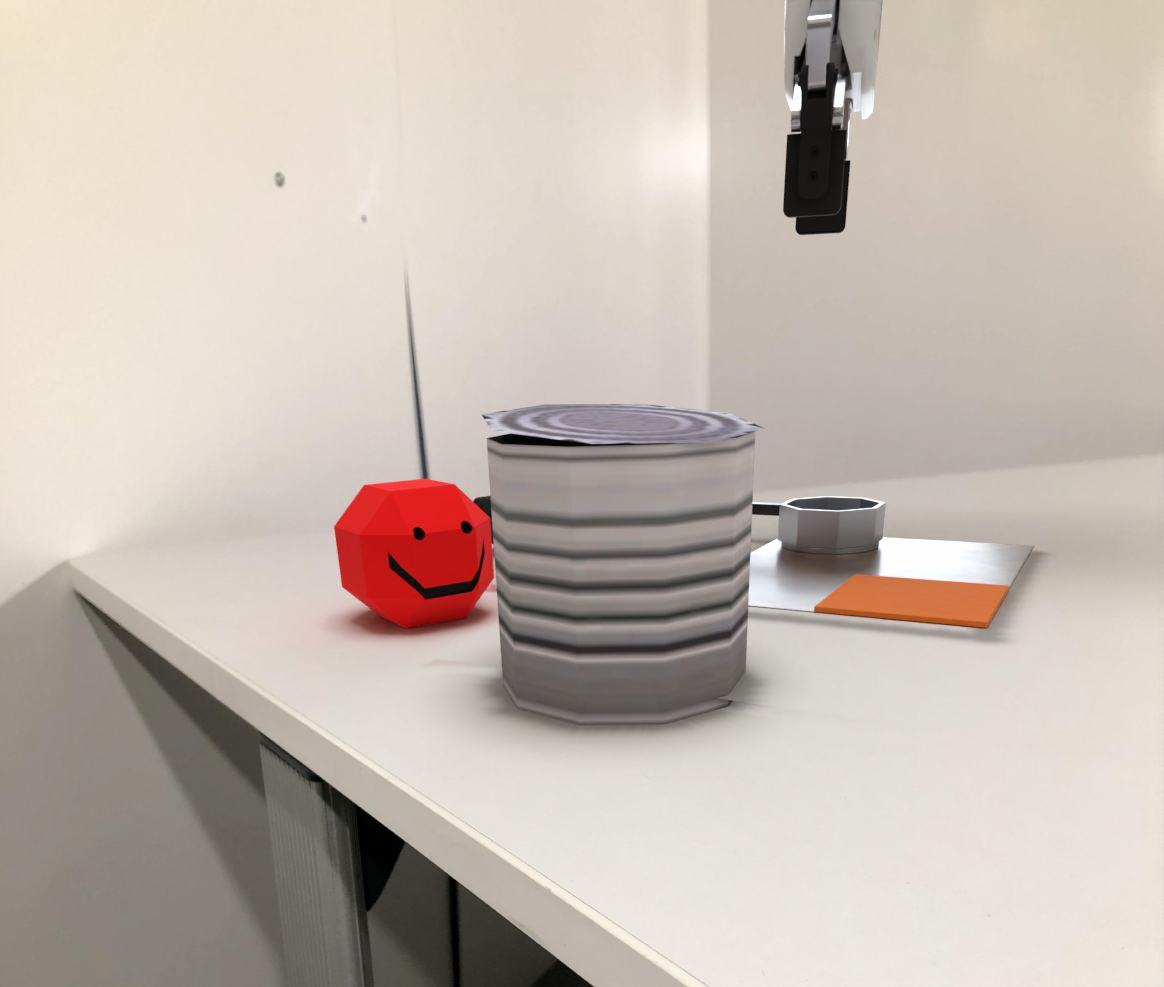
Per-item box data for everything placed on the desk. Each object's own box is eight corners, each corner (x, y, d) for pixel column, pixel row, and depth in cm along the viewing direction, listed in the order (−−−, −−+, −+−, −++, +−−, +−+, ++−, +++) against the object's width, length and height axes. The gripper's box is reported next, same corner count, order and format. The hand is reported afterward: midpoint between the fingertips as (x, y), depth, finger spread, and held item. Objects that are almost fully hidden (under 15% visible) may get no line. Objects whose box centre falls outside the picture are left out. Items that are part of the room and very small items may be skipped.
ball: (386, 643, 52) (369, 498, 49) (334, 615, 58) (316, 485, 55) (513, 618, 56) (505, 483, 53) (452, 594, 62) (441, 472, 59)
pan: (888, 539, 72) (892, 498, 70) (865, 557, 66) (869, 512, 65) (727, 530, 77) (728, 492, 76) (694, 545, 72) (694, 504, 71)
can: (694, 640, 51) (698, 397, 46) (791, 708, 40) (810, 406, 36) (481, 662, 48) (462, 408, 43) (528, 742, 38) (510, 421, 33)
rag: (854, 578, 60) (855, 574, 60) (1008, 590, 56) (1009, 585, 56) (813, 611, 53) (814, 606, 53) (986, 628, 49) (987, 622, 49)
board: (788, 539, 76) (788, 531, 76) (1033, 553, 68) (1034, 545, 68) (665, 607, 57) (665, 597, 57) (985, 639, 49) (987, 628, 49)
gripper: (919, -233, 43) (880, 203, 50) (907, -83, 59) (878, 236, 65) (752, -205, 45) (737, 211, 52) (783, -66, 60) (767, 242, 67)
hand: (815, 225), depth 59 cm, fingers open, 9 cm apart
